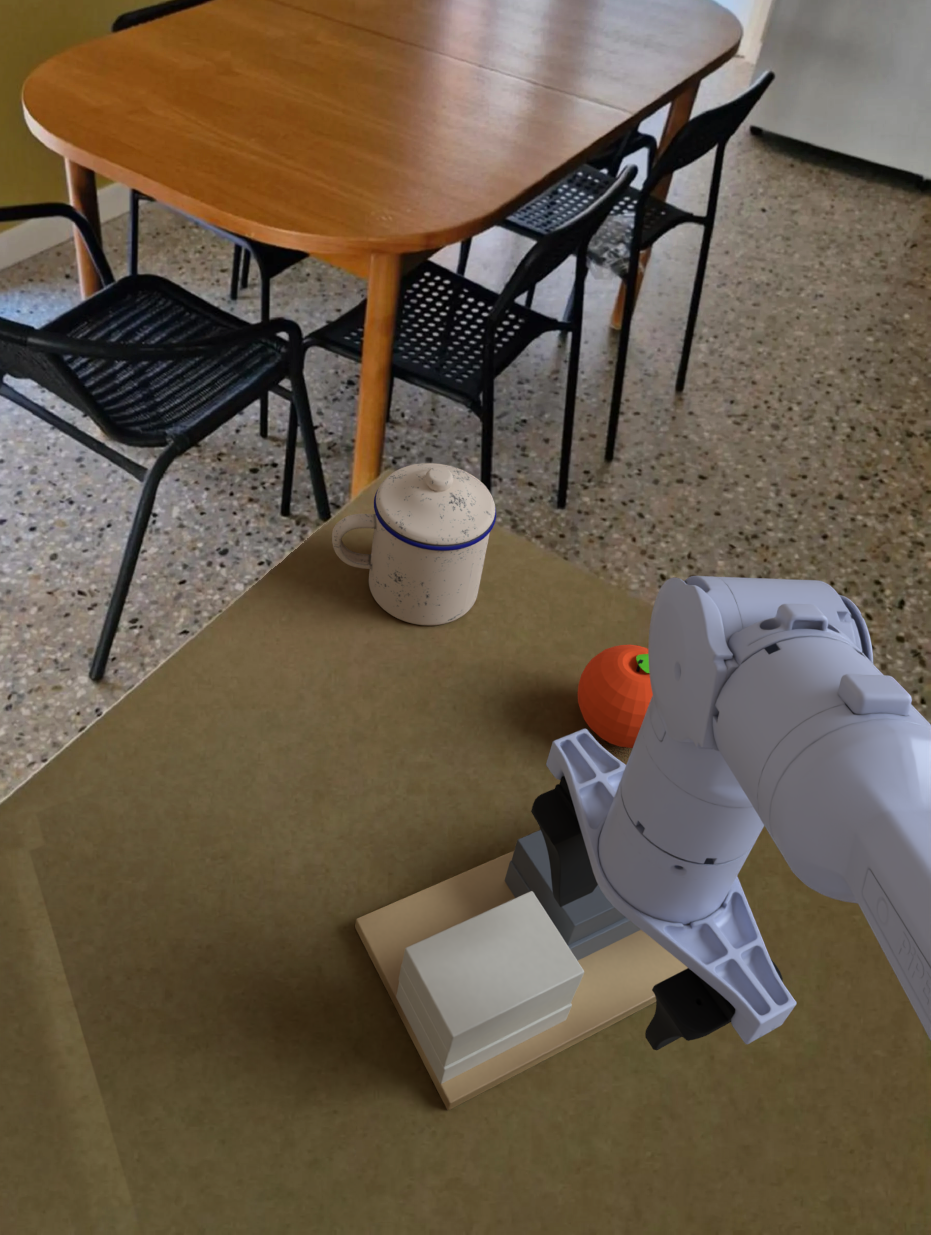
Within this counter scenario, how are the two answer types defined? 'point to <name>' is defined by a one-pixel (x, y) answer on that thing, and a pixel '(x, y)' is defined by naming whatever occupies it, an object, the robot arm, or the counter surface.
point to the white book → (491, 970)
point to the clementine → (616, 693)
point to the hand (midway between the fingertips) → (617, 961)
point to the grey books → (577, 922)
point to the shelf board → (600, 1000)
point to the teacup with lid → (424, 542)
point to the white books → (482, 1047)
